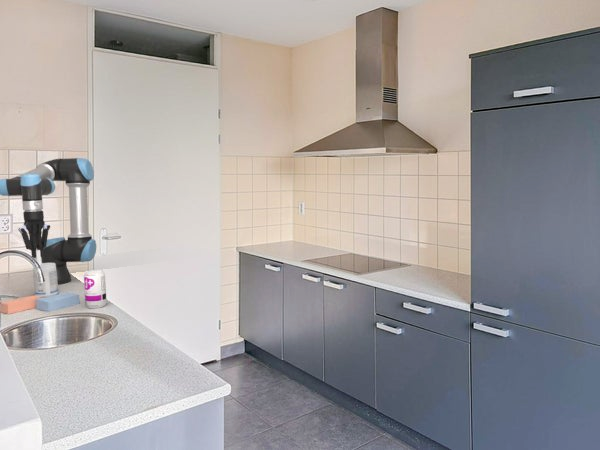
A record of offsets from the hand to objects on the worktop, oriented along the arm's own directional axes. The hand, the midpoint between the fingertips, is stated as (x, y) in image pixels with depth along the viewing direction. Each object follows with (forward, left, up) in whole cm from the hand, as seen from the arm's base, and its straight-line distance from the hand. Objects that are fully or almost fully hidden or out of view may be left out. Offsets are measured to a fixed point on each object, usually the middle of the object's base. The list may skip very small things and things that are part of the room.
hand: (37, 264), depth 208 cm
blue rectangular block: (-1, +11, -17) cm, 21 cm away
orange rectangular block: (+9, +2, -17) cm, 19 cm away
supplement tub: (-10, -12, -18) cm, 24 cm away
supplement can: (-9, +26, -18) cm, 32 cm away
